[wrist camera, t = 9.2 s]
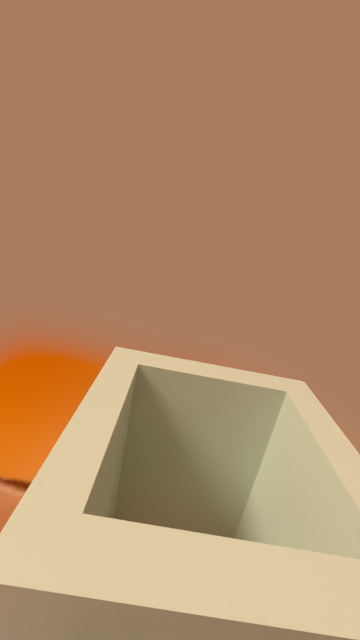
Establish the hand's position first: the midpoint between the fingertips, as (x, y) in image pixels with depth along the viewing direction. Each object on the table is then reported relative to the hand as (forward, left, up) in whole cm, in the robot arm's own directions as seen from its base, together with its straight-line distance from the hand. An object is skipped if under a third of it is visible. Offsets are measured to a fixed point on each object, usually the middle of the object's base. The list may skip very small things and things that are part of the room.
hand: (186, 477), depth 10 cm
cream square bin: (0, +2, -6) cm, 6 cm away
